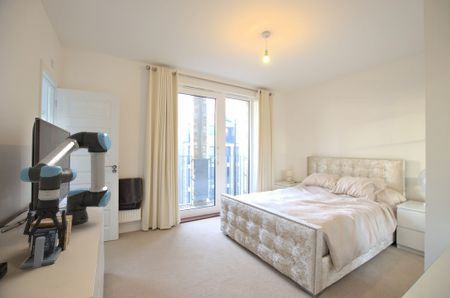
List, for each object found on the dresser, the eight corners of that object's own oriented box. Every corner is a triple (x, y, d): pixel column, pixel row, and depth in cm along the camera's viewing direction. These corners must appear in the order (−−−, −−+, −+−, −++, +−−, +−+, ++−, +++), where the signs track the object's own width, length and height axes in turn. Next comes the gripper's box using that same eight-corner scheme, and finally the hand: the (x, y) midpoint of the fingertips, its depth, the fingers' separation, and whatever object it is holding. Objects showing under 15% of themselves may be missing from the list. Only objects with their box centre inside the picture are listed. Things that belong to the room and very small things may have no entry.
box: (30, 257, 87) (32, 233, 88) (34, 252, 92) (37, 229, 93) (53, 253, 91) (55, 230, 92) (56, 248, 96) (58, 226, 97)
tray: (32, 255, 93) (34, 229, 94) (61, 250, 99) (63, 226, 99) (19, 270, 81) (22, 240, 82) (53, 264, 87) (56, 236, 87)
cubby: (36, 245, 103) (39, 217, 103) (70, 241, 110) (72, 214, 110) (28, 255, 93) (30, 224, 94) (65, 249, 100) (68, 220, 101)
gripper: (15, 201, 85) (10, 255, 84) (74, 198, 95) (70, 246, 94) (22, 198, 91) (18, 247, 90) (77, 195, 101) (73, 240, 100)
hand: (44, 247), depth 92 cm, fingers closed on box, 8 cm apart
